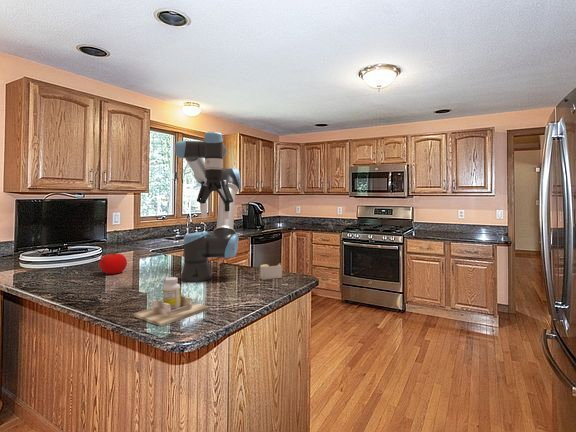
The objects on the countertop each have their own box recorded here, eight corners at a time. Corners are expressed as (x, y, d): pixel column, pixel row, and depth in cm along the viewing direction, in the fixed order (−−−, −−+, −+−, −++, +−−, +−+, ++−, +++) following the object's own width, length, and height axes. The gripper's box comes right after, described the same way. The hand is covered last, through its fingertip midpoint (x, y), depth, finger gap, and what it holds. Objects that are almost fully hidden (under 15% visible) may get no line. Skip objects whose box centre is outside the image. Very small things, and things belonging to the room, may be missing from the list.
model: (260, 279, 171) (260, 264, 171) (279, 277, 175) (279, 262, 175) (262, 280, 168) (262, 265, 168) (282, 278, 173) (282, 263, 172)
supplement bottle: (173, 305, 125) (172, 275, 124) (184, 308, 122) (183, 277, 121) (159, 310, 120) (159, 279, 119) (170, 313, 117) (170, 281, 116)
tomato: (131, 272, 185) (131, 252, 185) (108, 277, 174) (107, 255, 174) (119, 269, 192) (118, 250, 191) (95, 274, 181) (94, 253, 180)
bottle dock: (133, 316, 117) (132, 302, 117) (181, 301, 134) (181, 289, 133) (160, 326, 108) (160, 311, 108) (208, 309, 124) (208, 295, 124)
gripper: (188, 170, 149) (189, 218, 151) (228, 167, 135) (229, 220, 136) (201, 171, 155) (202, 217, 157) (241, 168, 141) (241, 219, 142)
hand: (214, 218), depth 146 cm, fingers open, 13 cm apart
